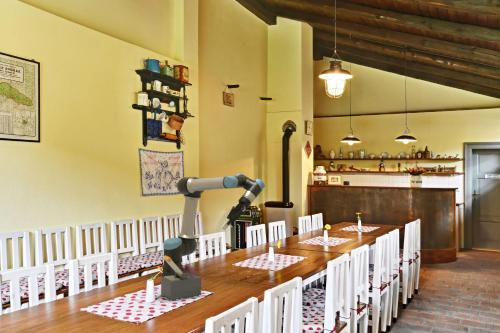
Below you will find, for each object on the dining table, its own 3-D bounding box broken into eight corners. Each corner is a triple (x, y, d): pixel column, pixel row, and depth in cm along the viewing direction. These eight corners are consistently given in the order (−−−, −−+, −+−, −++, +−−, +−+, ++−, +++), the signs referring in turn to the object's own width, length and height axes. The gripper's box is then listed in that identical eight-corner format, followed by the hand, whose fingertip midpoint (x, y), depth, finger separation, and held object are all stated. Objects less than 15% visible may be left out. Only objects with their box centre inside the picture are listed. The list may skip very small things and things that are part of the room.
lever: (178, 275, 249) (162, 257, 244) (180, 273, 250) (164, 255, 244) (183, 278, 243) (167, 260, 238) (186, 275, 244) (170, 257, 239)
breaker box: (160, 295, 246) (161, 271, 246) (190, 290, 256) (190, 267, 256) (170, 300, 235) (170, 276, 235) (201, 295, 245) (201, 272, 245)
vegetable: (183, 293, 262) (177, 269, 259) (181, 286, 272) (176, 263, 269) (201, 287, 264) (195, 264, 262) (198, 281, 274) (193, 258, 271)
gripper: (256, 204, 273) (232, 234, 264) (244, 203, 284) (221, 231, 274) (248, 196, 270) (224, 225, 261) (237, 195, 281) (214, 223, 272)
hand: (223, 228), depth 268 cm, fingers closed
